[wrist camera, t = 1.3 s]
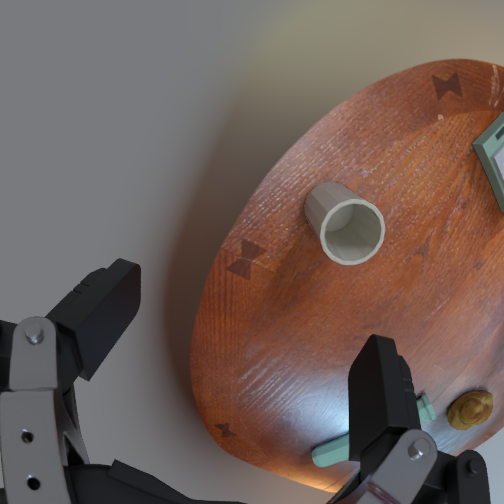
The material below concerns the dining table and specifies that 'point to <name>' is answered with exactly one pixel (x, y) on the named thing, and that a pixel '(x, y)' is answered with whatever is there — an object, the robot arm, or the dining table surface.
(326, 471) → the dining table surface
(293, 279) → the dining table surface
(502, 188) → the scale
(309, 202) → the tumbler
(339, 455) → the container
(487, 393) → the bread roll
